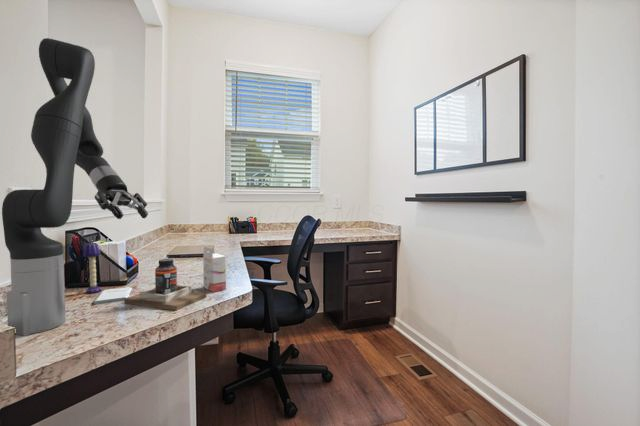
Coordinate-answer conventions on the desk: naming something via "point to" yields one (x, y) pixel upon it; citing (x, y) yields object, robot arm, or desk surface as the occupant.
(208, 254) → the ink cartridge box
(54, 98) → the robot arm
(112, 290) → the external hard drive
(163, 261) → the supplement bottle
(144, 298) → the rail board
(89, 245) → the toy lamp
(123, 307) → the desk surface
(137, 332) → the desk surface
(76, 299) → the desk surface
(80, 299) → the desk surface
